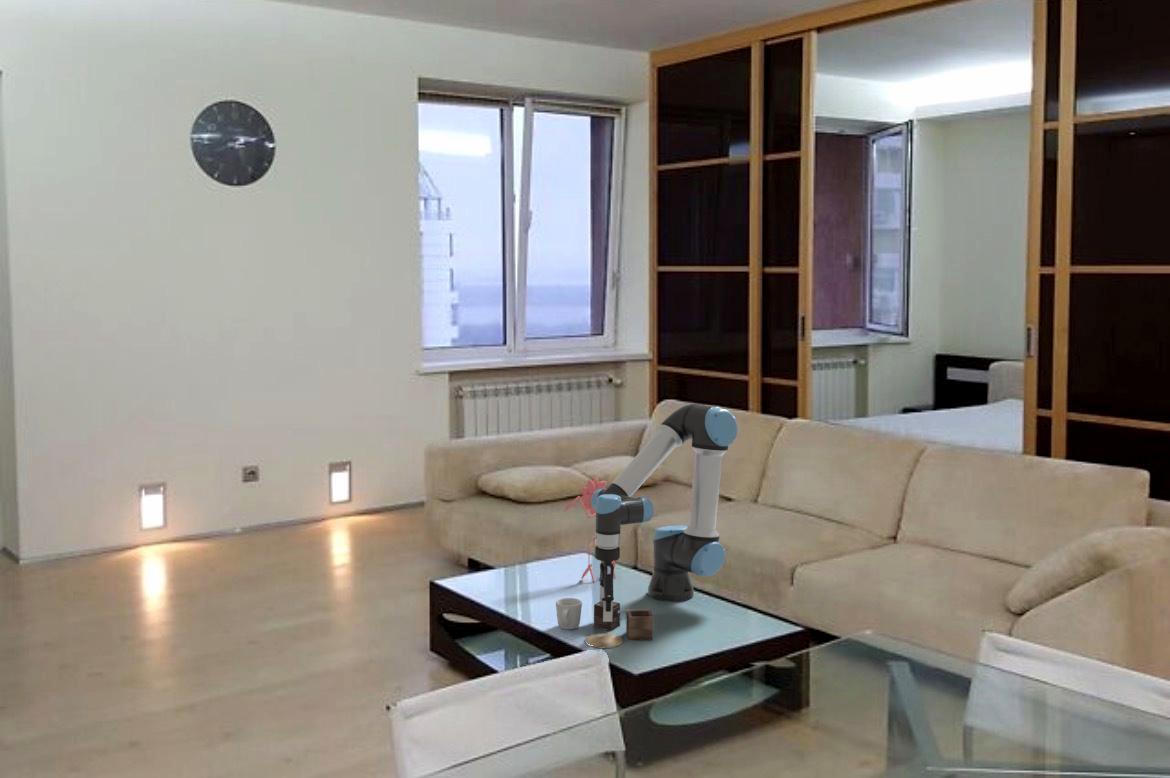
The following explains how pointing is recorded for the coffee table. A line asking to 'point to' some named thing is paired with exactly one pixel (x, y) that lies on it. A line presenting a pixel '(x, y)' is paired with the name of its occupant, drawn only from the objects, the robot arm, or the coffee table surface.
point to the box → (599, 617)
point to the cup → (568, 612)
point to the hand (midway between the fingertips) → (605, 614)
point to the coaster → (604, 640)
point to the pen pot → (639, 625)
